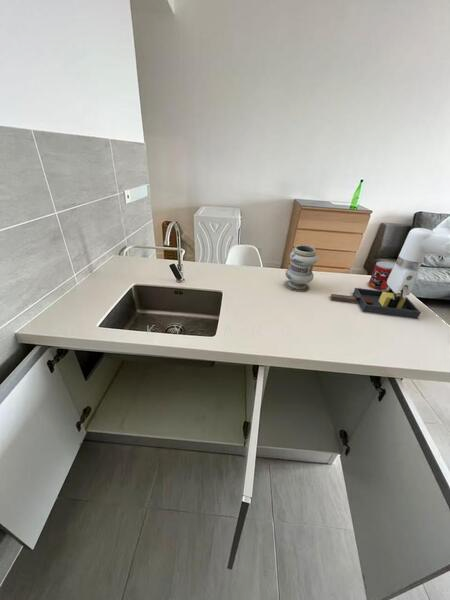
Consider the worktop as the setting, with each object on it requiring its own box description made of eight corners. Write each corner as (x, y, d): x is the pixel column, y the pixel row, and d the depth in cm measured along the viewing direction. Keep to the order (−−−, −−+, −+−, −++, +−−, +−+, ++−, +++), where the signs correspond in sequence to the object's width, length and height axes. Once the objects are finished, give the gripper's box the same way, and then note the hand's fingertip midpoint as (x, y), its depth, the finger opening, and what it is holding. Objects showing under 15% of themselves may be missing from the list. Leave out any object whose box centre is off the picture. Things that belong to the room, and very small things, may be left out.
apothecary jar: (281, 289, 107) (289, 250, 98) (284, 278, 117) (292, 241, 107) (310, 294, 104) (320, 255, 95) (310, 282, 114) (320, 245, 104)
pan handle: (357, 300, 102) (360, 294, 100) (359, 303, 100) (361, 298, 98) (330, 297, 103) (331, 291, 102) (331, 300, 101) (333, 294, 99)
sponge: (396, 303, 100) (400, 294, 98) (400, 309, 97) (405, 299, 94) (378, 300, 101) (382, 291, 99) (382, 306, 97) (386, 297, 95)
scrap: (368, 300, 102) (369, 297, 101) (372, 305, 98) (373, 302, 98) (358, 299, 102) (359, 296, 101) (361, 303, 99) (362, 301, 98)
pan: (400, 299, 104) (403, 293, 103) (417, 318, 92) (421, 312, 91) (352, 293, 107) (355, 287, 105) (363, 311, 95) (365, 305, 93)
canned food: (364, 282, 117) (372, 261, 111) (378, 282, 118) (387, 261, 112) (375, 290, 110) (385, 268, 105) (390, 289, 112) (400, 267, 106)
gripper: (431, 273, 82) (408, 317, 91) (408, 256, 96) (389, 295, 106) (408, 271, 83) (386, 315, 92) (388, 254, 97) (371, 293, 107)
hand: (388, 304), depth 99 cm, fingers closed on sponge, 4 cm apart
